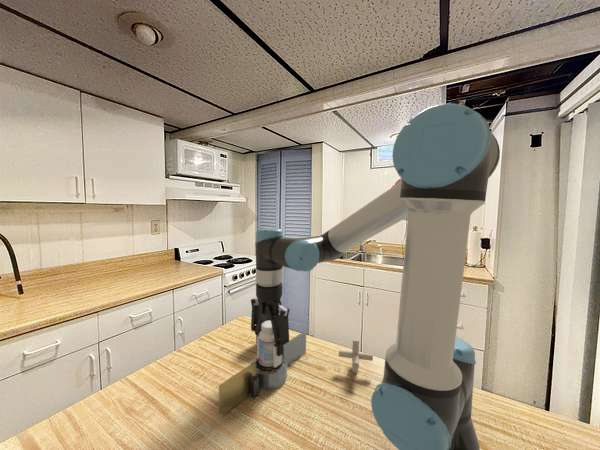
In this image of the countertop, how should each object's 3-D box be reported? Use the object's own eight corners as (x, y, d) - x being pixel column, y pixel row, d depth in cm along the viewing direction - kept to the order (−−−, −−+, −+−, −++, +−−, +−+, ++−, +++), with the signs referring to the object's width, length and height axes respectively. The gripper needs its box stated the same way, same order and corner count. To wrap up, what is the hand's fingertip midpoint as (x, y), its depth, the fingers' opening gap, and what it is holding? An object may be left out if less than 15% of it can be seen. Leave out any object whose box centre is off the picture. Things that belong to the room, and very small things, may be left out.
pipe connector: (373, 385, 70) (374, 351, 69) (337, 379, 72) (338, 346, 71) (370, 363, 80) (371, 333, 79) (339, 359, 82) (340, 329, 81)
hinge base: (316, 357, 82) (316, 337, 82) (259, 403, 63) (259, 377, 63) (293, 346, 89) (293, 327, 88) (234, 384, 70) (234, 360, 69)
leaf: (256, 388, 68) (256, 364, 67) (222, 415, 59) (222, 387, 59) (253, 386, 69) (253, 362, 68) (219, 413, 60) (218, 385, 59)
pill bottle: (259, 355, 75) (259, 319, 74) (279, 354, 76) (279, 318, 75) (258, 368, 69) (257, 329, 68) (279, 367, 70) (280, 328, 69)
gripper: (303, 286, 68) (302, 367, 69) (257, 273, 80) (257, 343, 81) (284, 293, 62) (284, 382, 63) (237, 279, 74) (238, 353, 76)
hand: (269, 360), depth 72 cm, fingers closed on pill bottle, 6 cm apart
